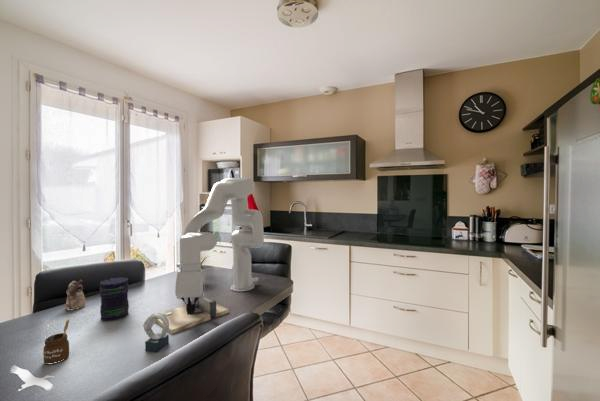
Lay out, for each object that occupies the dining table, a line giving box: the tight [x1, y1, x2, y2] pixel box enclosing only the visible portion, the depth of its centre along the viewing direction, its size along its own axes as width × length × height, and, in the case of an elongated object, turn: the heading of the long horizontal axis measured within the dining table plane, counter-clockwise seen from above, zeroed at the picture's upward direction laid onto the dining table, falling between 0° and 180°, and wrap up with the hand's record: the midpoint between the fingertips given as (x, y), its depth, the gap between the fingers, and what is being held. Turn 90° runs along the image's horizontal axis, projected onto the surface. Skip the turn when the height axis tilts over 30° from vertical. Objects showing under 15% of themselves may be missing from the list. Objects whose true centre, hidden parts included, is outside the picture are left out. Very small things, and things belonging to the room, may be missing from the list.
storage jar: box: [99, 276, 130, 322], centre depth 115 cm, size 10×10×15 cm
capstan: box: [191, 296, 218, 320], centre depth 114 cm, size 18×8×8 cm, turn 49°
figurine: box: [64, 279, 86, 310], centre depth 124 cm, size 7×7×12 cm
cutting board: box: [155, 303, 229, 335], centre depth 115 cm, size 24×18×2 cm
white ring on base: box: [142, 312, 170, 353], centre depth 91 cm, size 6×8×11 cm
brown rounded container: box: [42, 318, 70, 364], centre depth 85 cm, size 6×6×12 cm
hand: (191, 313), depth 109 cm, fingers closed
